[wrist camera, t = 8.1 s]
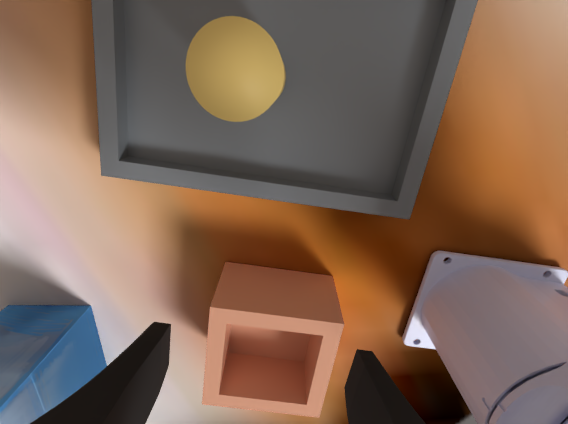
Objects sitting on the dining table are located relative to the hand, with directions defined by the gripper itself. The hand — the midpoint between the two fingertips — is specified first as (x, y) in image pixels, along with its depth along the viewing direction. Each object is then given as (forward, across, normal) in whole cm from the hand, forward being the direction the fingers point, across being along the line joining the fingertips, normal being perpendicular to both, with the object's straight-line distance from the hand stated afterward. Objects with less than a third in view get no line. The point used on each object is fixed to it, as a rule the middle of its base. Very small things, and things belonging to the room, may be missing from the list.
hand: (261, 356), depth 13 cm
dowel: (+10, +2, -10) cm, 14 cm away
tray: (+10, +1, -10) cm, 14 cm away
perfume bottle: (+11, +15, +11) cm, 22 cm away
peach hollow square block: (+10, -1, +6) cm, 12 cm away
